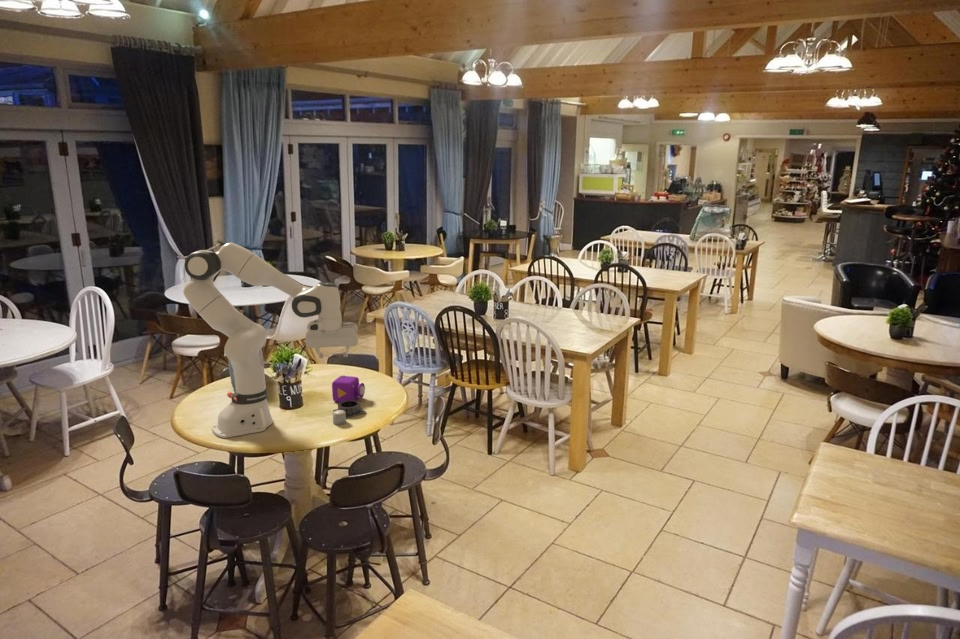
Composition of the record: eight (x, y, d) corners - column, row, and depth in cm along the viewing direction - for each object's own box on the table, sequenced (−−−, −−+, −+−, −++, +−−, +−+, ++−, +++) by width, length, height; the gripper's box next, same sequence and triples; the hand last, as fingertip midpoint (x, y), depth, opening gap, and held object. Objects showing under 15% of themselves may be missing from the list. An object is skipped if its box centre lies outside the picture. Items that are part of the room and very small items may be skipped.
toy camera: (363, 404, 279) (362, 382, 276) (331, 404, 279) (330, 382, 276) (368, 395, 289) (367, 373, 287) (337, 395, 289) (336, 373, 287)
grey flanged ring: (344, 419, 263) (343, 410, 262) (332, 411, 271) (332, 403, 270) (366, 413, 269) (365, 404, 268) (354, 405, 277) (354, 397, 276)
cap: (336, 426, 256) (336, 415, 255) (331, 422, 260) (330, 411, 259) (348, 423, 259) (347, 412, 258) (342, 419, 263) (341, 408, 262)
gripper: (358, 320, 259) (360, 353, 263) (305, 322, 257) (308, 356, 261) (356, 324, 253) (359, 358, 256) (302, 326, 251) (306, 361, 255)
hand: (333, 357), depth 259 cm, fingers open, 8 cm apart
